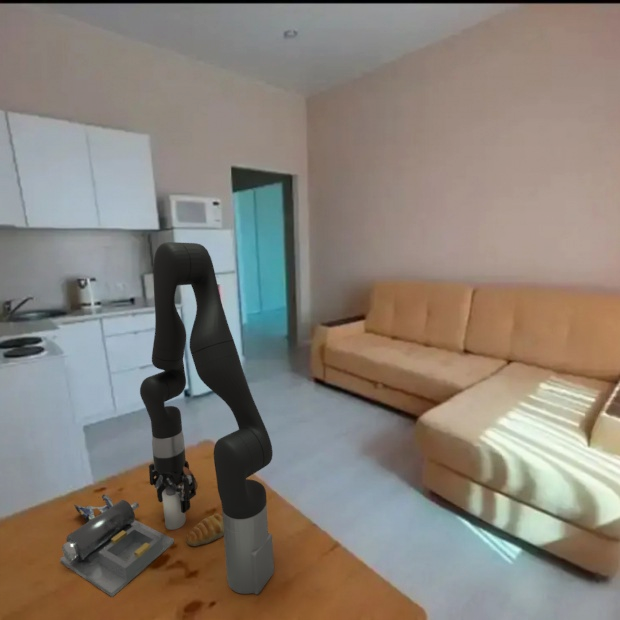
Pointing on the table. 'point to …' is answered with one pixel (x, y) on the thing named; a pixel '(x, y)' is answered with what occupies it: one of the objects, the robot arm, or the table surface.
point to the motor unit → (113, 548)
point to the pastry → (206, 531)
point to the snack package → (88, 511)
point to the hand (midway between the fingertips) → (173, 505)
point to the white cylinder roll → (172, 509)
